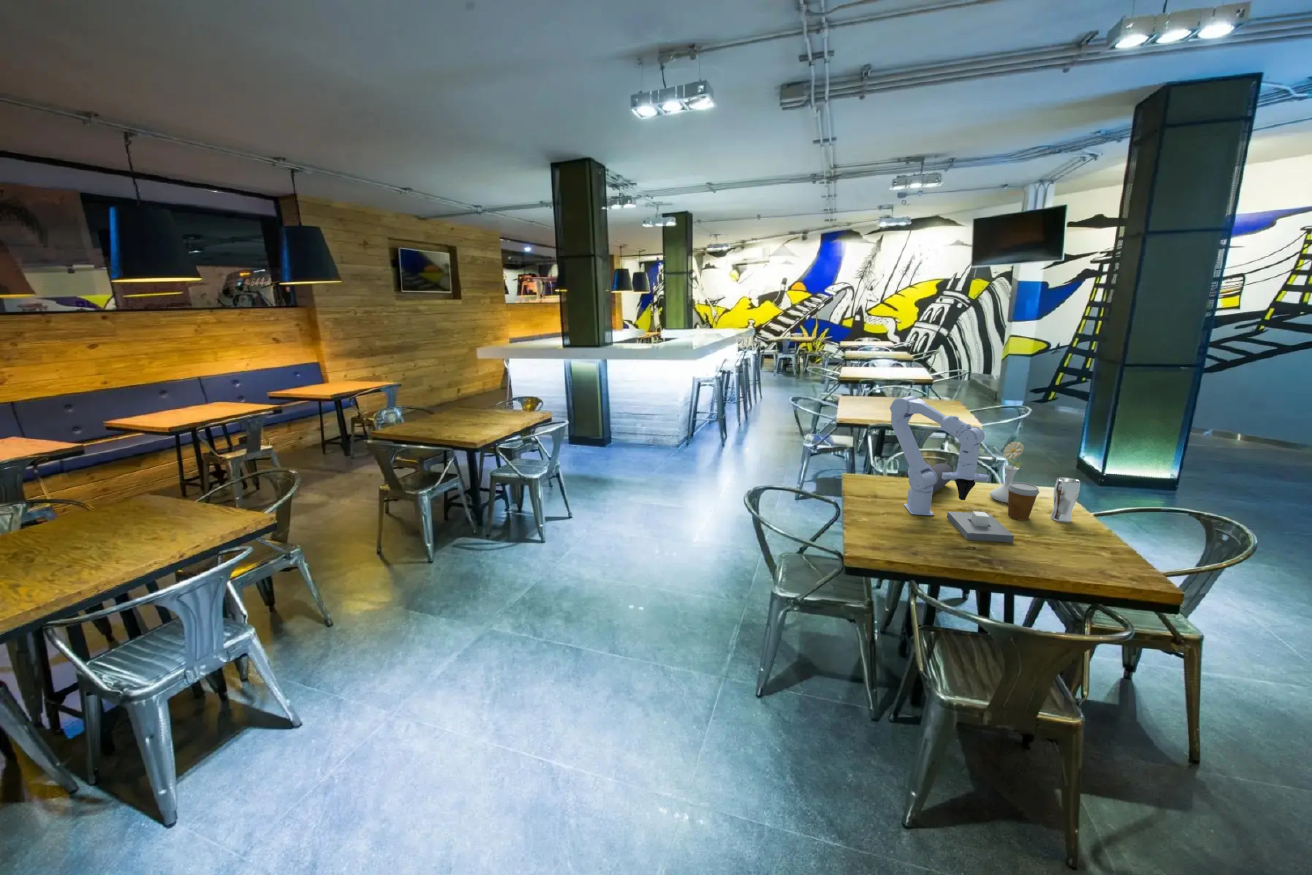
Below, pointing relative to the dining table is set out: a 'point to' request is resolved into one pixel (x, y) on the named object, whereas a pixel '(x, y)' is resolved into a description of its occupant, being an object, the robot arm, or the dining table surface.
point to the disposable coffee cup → (1021, 500)
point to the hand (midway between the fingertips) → (961, 499)
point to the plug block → (980, 519)
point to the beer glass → (1065, 498)
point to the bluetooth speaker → (939, 470)
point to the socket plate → (979, 528)
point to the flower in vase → (1008, 471)
